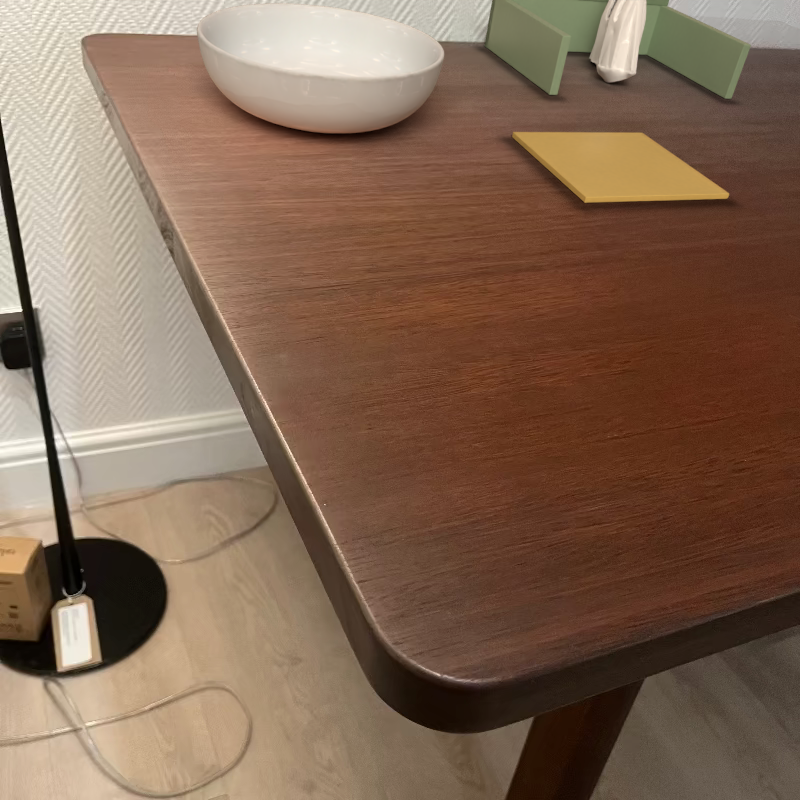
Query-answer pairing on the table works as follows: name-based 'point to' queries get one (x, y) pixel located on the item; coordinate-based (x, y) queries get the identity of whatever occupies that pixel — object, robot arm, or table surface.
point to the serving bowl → (319, 65)
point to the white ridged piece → (619, 39)
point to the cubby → (576, 32)
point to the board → (617, 167)
